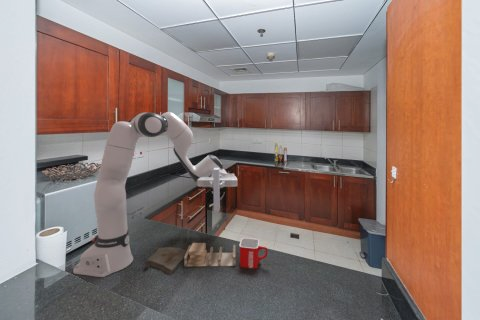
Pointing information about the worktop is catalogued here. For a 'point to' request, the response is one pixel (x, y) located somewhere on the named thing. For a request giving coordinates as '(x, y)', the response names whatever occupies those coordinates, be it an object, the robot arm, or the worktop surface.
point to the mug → (250, 252)
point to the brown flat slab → (167, 259)
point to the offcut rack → (215, 258)
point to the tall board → (216, 189)
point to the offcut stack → (197, 254)
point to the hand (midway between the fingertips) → (216, 185)
